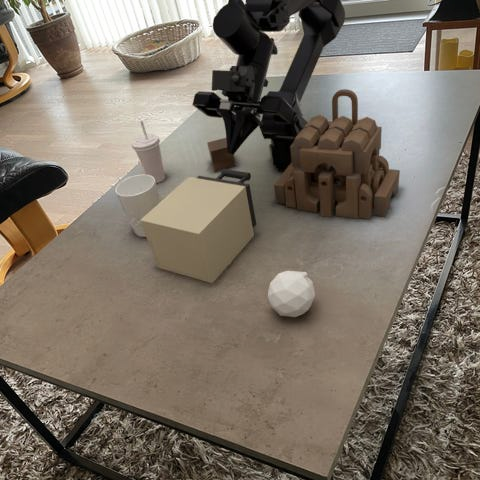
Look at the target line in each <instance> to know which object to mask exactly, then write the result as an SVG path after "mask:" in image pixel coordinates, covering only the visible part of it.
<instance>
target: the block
mask: <svg viewBox="0 0 480 480" xmlns="http://www.w3.org/2000/svg"><path fill="white" fill-rule="evenodd" d="M206 144H207V149H208V153H209V159H210V161H211V165H212V167H213V170H214V172H219V171H222V169H231V168H234V167H236V161H235V154H234V155H232V154H229V153H228V152H227V141H226V137H223V138H219V139H215V140H211V141H208V142H206Z"/></svg>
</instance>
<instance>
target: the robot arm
mask: <svg viewBox="0 0 480 480" xmlns="http://www.w3.org/2000/svg"><path fill="white" fill-rule="evenodd" d="M297 13H298V17H299V18H300V20H301V26H302V31H303V36H302V38H301V41H300V43H299V45H298V48H297V50H296V52H295V54H294V57H293V58H292V60H291V63H290V66H289V68H288V70H287V72H286V74H285V77H284V79H283V81H282V84H281V86H280V88H279V90H278V91H276V90H273V91H272V90H269V91H268V92H267V94H264V95H263V90H264V88H268V84H269V80H268V79H267V78H266V77H267V73H268V69H269V66H270V61H271V58H272V55H274V56H276V55H278V52H279V51H278V47H277V45H276V42H275V39H274V38H273V37H270V36H269V35H268V34H267V33H273V32H274V33H276V32H277V33H278V32H279V33H280V32H282V31H283V30H284V29H285V28H286V27H287V26H288V25H290V22H291V19H290V18H291V16H293V15H295V14H297ZM345 20H346V11H345V8H344V6H343V3H342V1H341V0H245V2H244V0H228V1H227V3H226V4H225V5H223V6H222V7H221V8H220V9H219V10H218V11H217V12H216V14H215V15H214V17H213V19H212V30H213V33H214V34H215V35H216V36H217V38H218V39H219V40H220V41H221V42H222V43H223V44H224V45H225V46H226V47H227V48H228V49H229V50H230V51H231V52H232V53H233V54H234V55H237V60H236V65H231V66H230V68H229V70H222V69H221V70H219V69H218V70H217V69H212V70H211V72H212V73H211V74H212V75H211V91H203V90H198V91H197V92H196V93H195V94H194V95H193V100H192V104H191V106H192V107H194V108H196V109H197V110H198V111H200V112H201V113H202V114H204V115H205V116H206V117H210V118H217V119H222V121H223V124H224V129H225V130H224V131H225V138H226V141H227V152H228V153H229V154H232V155H234V156H235V154H236V152H237V151H238V150H239V149H240V147H241V146H242V145H243V143H244V142H245V141H246V140H247V139H248V138H249V137H250V135H252V134H253V133H254V132H255V130H256V129H257V128H258V127H259V130H260V132H261V135H262V137H263V139H264V140H270V143H269V144H268V150H269V156H270V162H271V164H272V166H273V167H275V169H276V171H277V172H283V171H285V170H286V169H287V168H288V166H289V165H290V164H291V162H292V159H291V149H290V146H291V145H292V144H293V143H294V140H295V138H296V136H297V135H298V134H299V133H300V132H301V130H302V129H304V128H305V126H306V124H307V123H308V122H309V121H307V120H306V119H305V118H304V117H303V111H302V107H301V101H302V98H303V96H304V94H305V91H306V89H307V87H308V84H309V82H310V80H311V77H312V75H313V74H314V71H315V68H316V66H317V64H318V61H319V59H320V56H321V55H322V52H323V50H324V47H326V46H327V45H329V44H330V43H332V42H333V41H334V40H335V39H336V38H337V36H338V35H339V33H340V31H341V30H342V27H344V23H345ZM215 91H221V95H222V96H223V97H226V98H227V99H225V98H224V99H223V98H221V97H220V96H219V95H217V93H215ZM262 95H263V96H262Z"/></svg>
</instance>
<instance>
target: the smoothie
mask: <svg viewBox="0 0 480 480" xmlns="http://www.w3.org/2000/svg"><path fill="white" fill-rule="evenodd" d="M139 123H140V126H141V129H142V132H143V134H142V135H139V136H137V137H135V138H134V139H133V140H132V141H131V148H132V150H133V151H134V152H135V154H136V156H137V158H138V159H139V161H140V163H141V166H142V168H143V170H144V172H145V174H146V175H151V176H153V177H154V179H155V182H156V184H159V183H161V182H164V180H165V178H166V175H165V170H164V163H163V157H162V151H161V146H160V143H161V140H160V137H159V135H158V134H156V133H147V131H146V128H145V124H144V121H143V120H139Z"/></svg>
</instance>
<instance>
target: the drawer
mask: <svg viewBox="0 0 480 480" xmlns="http://www.w3.org/2000/svg"><path fill="white" fill-rule="evenodd" d="M196 178H198V179H204V180H210V181H216V182H222V183H228V184H234V185H240V186H245V187H246V193H247V198H248V204H249V210H250V215H251V221H252V226H253V229H254V228H255V227H256V226H257V219H256V214H255V213H256V212H255V208H254V202H253V196H252V190H251V184H250V183H246V181H251V178H252V174H251V172H248V171H240V170H233V169H229V168H227V169H222V170H220V174H219V175H218V176H217V177H216V178H215V177H209V176H203V175H198V176H197V177H196ZM224 178H230V179H231V178H232V179H236V180H238V181H234V180H233V181H232V180H229V179H224Z"/></svg>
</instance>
